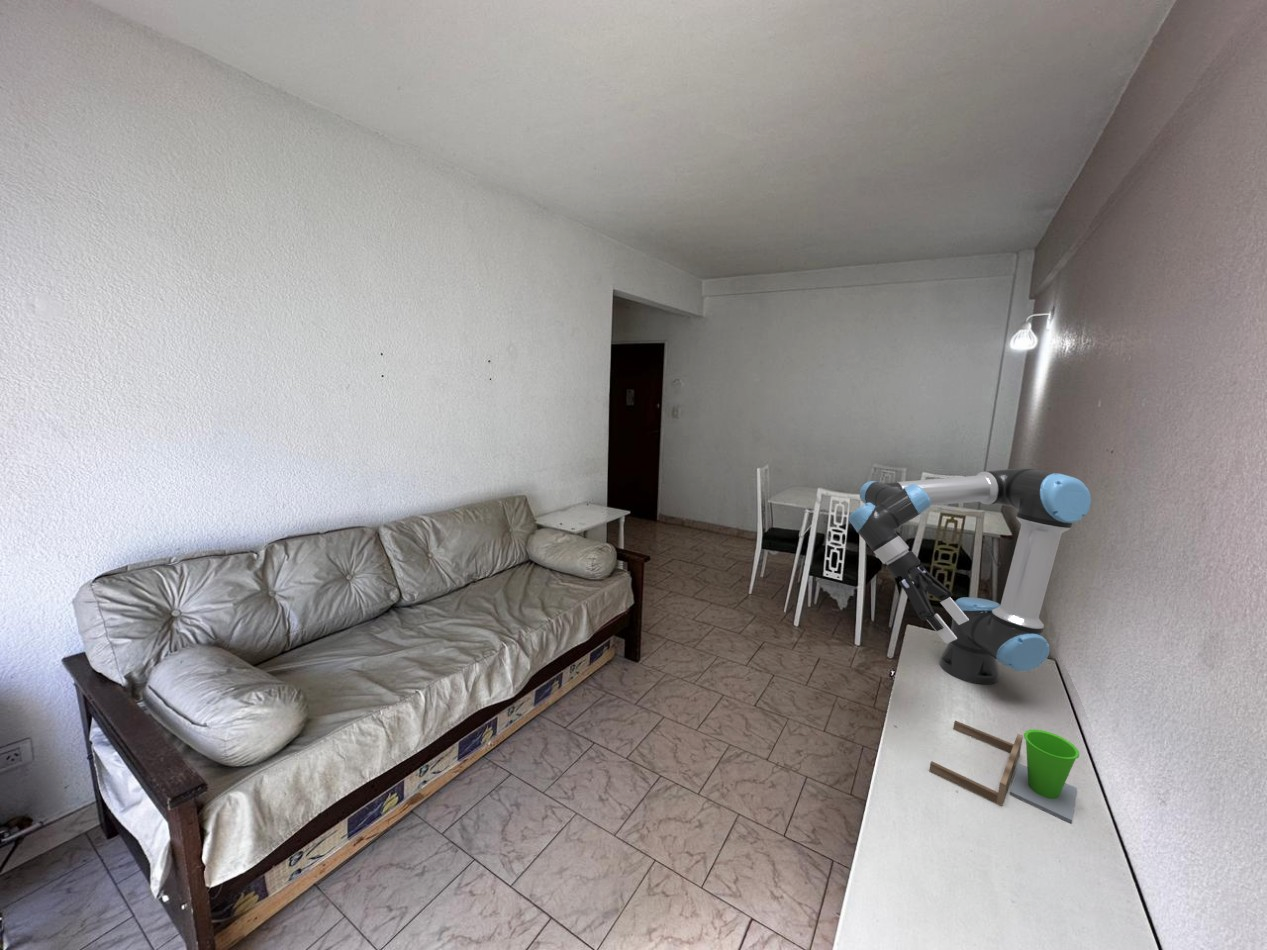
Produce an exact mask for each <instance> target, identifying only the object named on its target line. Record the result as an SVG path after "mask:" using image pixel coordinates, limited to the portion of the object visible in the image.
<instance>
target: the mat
mask: <svg viewBox="0 0 1267 950" xmlns="http://www.w3.org/2000/svg"><path fill="white" fill-rule="evenodd" d="M1017 766H1018V767H1017V769H1016V771H1015V776H1014V779H1013V782H1012V785H1011V788H1010V789H1009V795H1010V796H1011V797H1013V798H1016V799H1018V800H1020V801H1022V802H1024V803H1026V804H1029V805H1030V806H1032V807H1035V808H1037V809H1039V810H1040V811H1043V812H1046V813H1048V814H1050V815H1052V816H1054V817H1057V818H1058V819H1061V821H1062V820H1063V821H1064V822H1066V823H1069V824H1072V823H1073V817H1074V815H1073V814H1074V812H1075V811H1074V810H1075V804H1076V798H1077V797H1076V796H1077V793H1078V792H1077V791H1078V787H1076V786H1074V785H1071V784H1069V783H1066V782H1065V784H1064V786H1063V788H1062V791H1061V793H1060V795H1059V796H1058V797H1057V798H1054V799H1052V798H1047V797H1044V796H1041V795H1039V794H1038V793H1036V792H1035V791H1033V790H1032V789H1031V788H1030V786H1029V783H1028V770H1027V766H1026V765H1024V764H1022V763H1019V764H1018V765H1017Z"/></svg>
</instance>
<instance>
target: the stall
mask: <svg viewBox="0 0 1267 950" xmlns="http://www.w3.org/2000/svg"><path fill="white" fill-rule="evenodd" d="M952 728H953V730H954V731H956V732H959V733H961V734H963V735H966V736H968V737H970V736H971V738H973V739H976V740H978V741H980V742H983V743H985V744H987V745H990V746H992V747H994V748H996V749H999V750H1002V751H1004V752H1006V753H1009V756H1008V759H1007V761H1006V765H1005V767H1004V770H1003V773H1002V776H1001V778H1000V781H999V784H998V785H999V786H998V790H997V791H996V790H994V789H992V788H990V787H987V786H986V785H984V784H981V783H979V782H977V781H974V780H973V779H972V778H969V777H966V776H964V775H962V774H960V773H957V772H956V771H954V770H951V769H949V768H947V767H945V766H943V765H941V764H938V763H936V762H934V761H932V760H931V761H930V763H929V772H930V773H932V774H934V775H936V776H939V777H941V778H943V779H945V780H947V781H948V782H951V783H953V784H955V785H956V786H959V787H961V788H963V789H964V790H966V791H967V790H968V791H969V792H971V793H973V794H976V795H977V796H979V797H982V798H983V799H986V800H988V801H989V802H992V803H994V804H995V805H996V804H997V805H998V806H999V807H1000V806H1001V807H1003V806H1004V803H1005V799H1006V796H1007V794H1008V791H1009V788H1010V786H1011V782H1012V779H1013V776H1014V773H1015V770H1016V767H1017V766H1018V762H1019V759H1020V755H1021V750H1022V745H1023V738H1024V735H1021V734H1019V733H1017V735H1016V737H1015V740H1014V743H1012V742H1009V741H1006V740H1004V739H1002V738H999V737H997V736H995V735H992V734H990V733H987V732H986V731H982V730H980V729H977V728H975V727H972V726H970V725H967V724H965V723H962V722H960V721H957V720H954V722H953V727H952Z"/></svg>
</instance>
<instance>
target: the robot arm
mask: <svg viewBox="0 0 1267 950" xmlns="http://www.w3.org/2000/svg"><path fill="white" fill-rule="evenodd" d="M859 499H860V501H861V502H862V503H863V505H861V506H860V507H859V508H857V509H855V510H854V511H853V512H851V513H850V514H849V516H848V521H849V522H850V525H852V526H853V528H854V530H855V531H856V533H857V534H858V535H859V536H860V537H861V538H862V539H863V541H864V542H865V543H866V544H867V545H868V547H869V548H870V549H871V550H872V552H873V553H874V554H875V558H877V559H879V560H880V561H881V563H882V564H883V565H885V564H886V566H885V568H886V569H887V571H888V572H889V573H890V574H891V576H893V578H896V579H897V578H899V577H901V578H902V580H901V581H899V582H898V583H899V585H900V587H901V588H902V590H903V591H904V593H905V594H906V596H907V598H908V600H909V601H910V603H911V605H912V607H913V609H914V611H915V612H916V614H917V617H918V618H919V620H921V621H923V622H925V621H927V622H928V623H929V625H930V626H931V627H932V629H934V631H935V632H936V633H937V635H938V636H939V637H940V638H941V640H942V641H943V642H944V643H945V644H947V645H946V647H945V649H944V651H943V652H942V654H941V656H940V660H939V662H940V663H939V665H940V667H941V668H942V669H943V670H944V671H945V672H946V673H948V674H950V675H952V676H953V677H955V678H957V679H960V680H961V681H965V682H970V683H972V684H978V683H979V685H992V683H993V684H995V682H996V683H997V682H998V681H999V677H1000V670H999V666H998V662H999V663H1000V664H1002V665H1003V666H1006V667H1008V668H1009V669H1011V670H1014V671H1017V672H1028V671H1032V670H1034V669H1036V668H1038V667H1040V666H1041V665H1043V663H1044V662H1046V660H1047V659H1048V657H1049V654H1050V644H1049V643H1048V641H1047V639H1046V638H1045V637H1044V636H1042V635H1043V631H1044V626H1045V624H1044V623H1043V622H1042V621H1041V619H1040V614H1041V611H1042V606H1043V603H1044V601H1045V600H1044V599H1045V595H1046V592H1047V589H1048V584H1049V580H1050V577H1051V573H1052V570H1053V566H1054V563H1055V558H1056V555H1057V552H1058V548H1059V544H1060V540H1061V537H1062V534H1063V533H1065V532H1067V531H1069V530H1071V529H1072V526H1073V523H1077V522H1079V521H1081V520H1082V519H1083V517H1085V516H1087V514H1088V512H1089V511H1090V507H1091V504H1092V497H1091V492H1090V491H1089V488H1088V487H1087V486H1086V484H1085V483H1084V482H1082V481H1081V480H1080V479H1078V478H1076V477H1073V476H1071V475H1070V476H1069V475H1067V474H1062V473H1056V472H1049V471H1044V470H1037V469H1033V468H1021V467H1020V468H1018V467H1017V468H1009V469H998V470H997V469H996V470H988V471H981V472H978V473H977V474H976V475H968V476H956V477H955V476H954V477H944V478H930V479H920V480H919V479H918V480H909V481H908V480H907V481H906V480H905V481H896V482H893V481H892V482H880V481H875V480H872V481H871V480H870V481H866V483H864V484H863V485H862V486H861V487H860V490H859ZM976 502H979V503H981V504H983V505H1001V506H1005V507H1011V508H1015V509H1017V513H1016V515H1015V516H1016V517H1015V518H1016V520H1018V522H1019V523H1020V529H1019V533H1018V537H1017V540H1016V544H1015V547H1014V548H1015V549H1014V552H1013V556H1012V560H1011V564H1010V567H1009V571H1008V575H1007V578H1006V583H1005V587H1004V590H1003V594H1002V598H1001V602H1000V603H998V602H996V601H995V600H990V599H985V598H979V597H972V596H971V597H970V596H968V597H960V598H958V599H956V600H953V598H951V597H952V596H953V592H952V591H950V589H948V587H946V586H945V585H944V584H943V583H941V581H940V580H938V579H937V578H936V577H934V576H933V574H931V573H930V572H929V571H928V570H927V569H926V568H925V567H924V566H923V565H920V563H921V560H920V559H919V558H918V557H917V556H916V554H915V553H914V552H913V551H912V550H909V549H910V547H909V545H908V544H907V543H906V542H905V540H903V538H902V537H901V536H900V535H899V534H898V533H897V531H896V530H897V529H899V528H900V527H902V526H903V525H905V524H906V523H908V522H909V521H912V520H913V519H914V518H917V517H918V516H919V515H921V514H922V513H923V512H925V511H926V510H927V509H929V508H930V507H931V506H939V505H950V504H951V505H953V504H965V503H976ZM918 565H919V566H918ZM926 592H927V593H929V594H930V595H932V596H933V597H934V598H936V599H938V600H939V601H940V602H939V603H940V604H941V605H942V607H943V609H945V610H946V612H947V613H948V614H949V615H950V616H951V618H952V619H951V627H949V626H948V625H947V624H946V622H945V621H944V620H943V618H942V617H941V616H940V615H939V614H938V613H935V610H934V609H933V607H932V605H931V602H930V600H929V598H928V594H927V593H926ZM997 661H998V662H997Z"/></svg>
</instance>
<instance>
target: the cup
mask: <svg viewBox="0 0 1267 950" xmlns="http://www.w3.org/2000/svg"><path fill="white" fill-rule="evenodd" d="M1023 738H1024V740H1025V743H1026V744H1025V746H1026V765H1027V770H1028V783H1029V786H1030V788H1031V789H1032V790H1033V791H1035V792H1036V793H1038V794H1039V795H1041V796H1044V797H1047V798H1052V799H1054V798H1057V797H1058V796H1059V795H1060V793H1061V791H1062V788H1063V786H1064V784H1065V783H1066V781H1067V779H1068V777H1069V775H1070V773H1071V770H1072V769H1073V767H1074V763H1075V762H1076V760H1077V759H1078V758H1079V757H1080V751H1079V750H1078V748H1077V747H1076V746H1075V745H1074V744H1073V743H1072V742H1071V741H1069V740H1067V739H1065V738H1064V737H1062V736H1060V735H1058V734H1055V733H1053V732H1050V731H1047V730H1042V729H1028V730H1026V731H1025V732H1024V733H1023Z"/></svg>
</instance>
